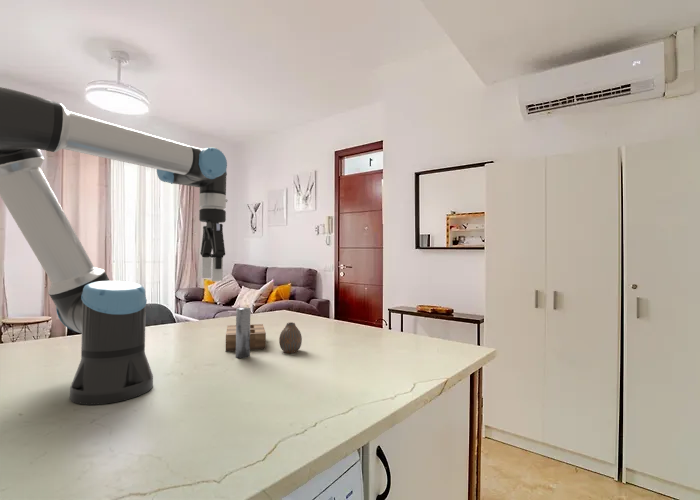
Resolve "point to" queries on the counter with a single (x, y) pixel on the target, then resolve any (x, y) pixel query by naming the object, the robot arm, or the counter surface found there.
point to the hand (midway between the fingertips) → (211, 279)
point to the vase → (290, 338)
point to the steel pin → (242, 332)
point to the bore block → (255, 337)
